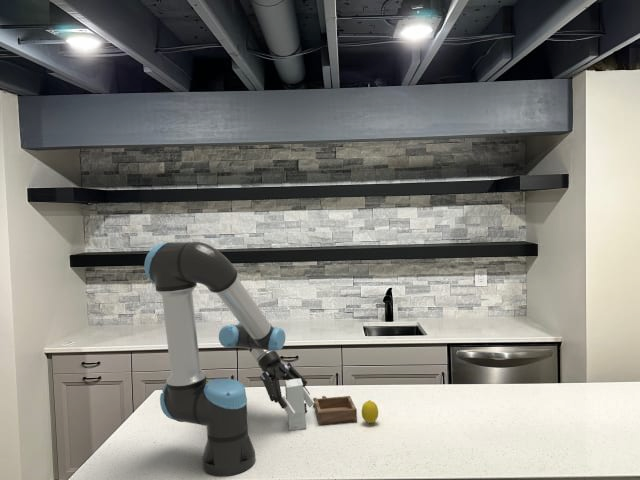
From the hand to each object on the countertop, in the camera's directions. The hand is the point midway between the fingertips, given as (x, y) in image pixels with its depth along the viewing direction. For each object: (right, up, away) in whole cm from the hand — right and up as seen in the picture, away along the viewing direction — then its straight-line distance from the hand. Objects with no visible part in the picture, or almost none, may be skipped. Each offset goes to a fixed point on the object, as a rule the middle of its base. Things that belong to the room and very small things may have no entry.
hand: (302, 409), depth 166 cm
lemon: (+23, -5, +1) cm, 23 cm away
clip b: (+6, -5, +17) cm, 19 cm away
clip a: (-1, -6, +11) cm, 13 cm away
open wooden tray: (+11, -5, +8) cm, 15 cm away
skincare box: (-2, -6, +2) cm, 7 cm away
